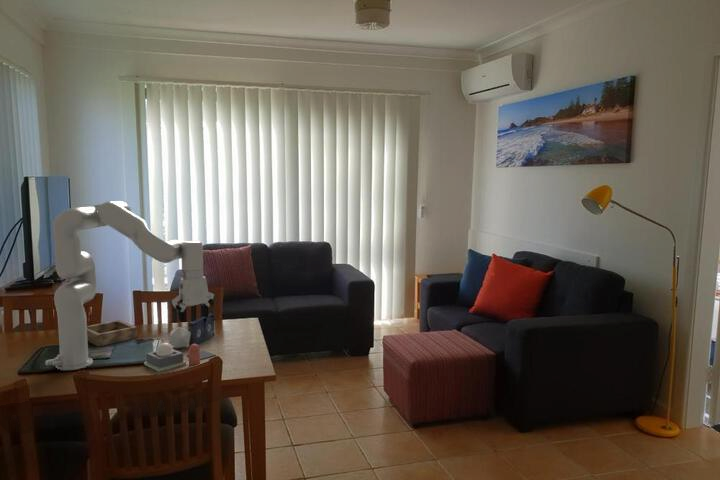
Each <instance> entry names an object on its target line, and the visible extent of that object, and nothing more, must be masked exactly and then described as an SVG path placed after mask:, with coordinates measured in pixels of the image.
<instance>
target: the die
mask: <svg viewBox="0 0 720 480" xmlns="http://www.w3.org/2000/svg"><path fill="white" fill-rule="evenodd" d="M190 335H191V332H189V329H188V330H187V329H186V328H184V327H181V326H178V327H176V328H174V329H172V330H170V334H169V337H168V339H169V340H168V341H169V342H168V343H169V344H170V345H171V346H172V347H174V348H176V349H183V348H185V347H187V346H189V341H190Z"/></svg>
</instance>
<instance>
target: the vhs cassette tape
mask: <svg viewBox="0 0 720 480" xmlns="http://www.w3.org/2000/svg"><path fill="white" fill-rule="evenodd" d="M187 327H188V331H189V332H191V335H190V341H189V345H188V346H189V347H190V346H191V345H192V344H197V345H198V346H199V345H200V344H202V343H203V342H205V341H207V340H209V339H211V338H212V337H214V336H215V335H216V334H215V332H216V331H215V330H216V329H215V313H211V312H209V314H208V317H203V316H201V317H200V318H198V319H195V320H194V321H191V322H189V323H188V326H187Z"/></svg>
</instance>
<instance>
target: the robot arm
mask: <svg viewBox="0 0 720 480" xmlns="http://www.w3.org/2000/svg"><path fill="white" fill-rule="evenodd" d="M106 226H108V227H110V228H111V229H113V230H115V231H116V232H118V233H120V234H121V235H122V236H125V237H126V238H128V239H129V240H131V241H132V243H133V244H134V245H135V246H137V248H138V249H139V250H140V251H142V252H143V253H145V254H146V255H147V256H149V257H151V258H152V259H154V260H155V261H158V262H160V263H164V264H167V263H171V262H173V261H177V260H180V259H181V272H179V275H178V276H179V277H181V278H180V281H179V290H178V295H177V296H176V297H174V298H173V299H172V300H171V303H172V306H173V308H174V309H175V310H176V311H177V312H178V320H179V322H180V323H186V322H187V321H186V312H185V310H186V308H187V307H193V306H197V305H202V306H201V315H202V316H201V317H208V314H209V313H210V311H209V310H210V309H209V307H210V306H211V304H212V302H213V300H214V297H215V294H214V293H213V292H210V291H209V289H208V288H209V287H208V283H207V281H208V280H207V278H206V276H204V253H203V251H204V250H203V247H204V246H203V243H202V242H201V241H200V240H179V239H170V240H167V241H165V240H164V239H162V238H160V237H158V236H157V235H155V234H154V233H153V232H152V231H150V229H149V228H148V227H149V226H148V224H147V221H146V220H145V219H143V218H141V217H140V216H138V215H137V214H135V213H133V212H132V209H131V207H130V206H129V205H128V204H127V203H126V202H124V201H121V200H109V201H106V202H103V203H101V204H95V205H87V206H77V207H71V208H68V209H65V210H63V211H61V212H60V213H59V214H58V215H57V216H56V217H55V219H54V220H53V224H52V234H53V242H54V243H53V244H54V259H55V271H56V274H57V275H58V277H59V278H61V279H63V280H70V281H69V282H66V283H64V284H62V285H60V286H59V287H58V288H57V289H56V290H55V292H54V295H53V296H54V297H53V301H54V305H55V309H56V314H57V328H58V343H59V344H58V345H59V347H58V348H59V353H58V354H57V355H56V357H54V358H52V359H51V358H50V359H46V360H44V361H45V366H51V365H52V366H55V369H56V368H57V370H59V369H60V370H59V371H74V370H75V371H77V370H81V368H82V369H85V368H88V367H89V366H91V365H93V364H94V360H93V358H91V357H90V356H89V343H88V342H89V341H88V339H87V326H88V323H87V321H88V319H87V314H86V310H85V307H84V304H87V303H88V302H91V300H93V299H94V298H95V296H96V293H97V282H96V281H97V277H96V263H95V261H94V258H93V256H92V255H91V254H90V253H88V252H87V251H84V250H82V249H81V239H80V237H79V235H78V232H79V231H85V230H90V229H95V228H100V227H106ZM178 302H179V304H178ZM87 366H88V367H87Z"/></svg>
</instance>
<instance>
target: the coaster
mask: <svg viewBox="0 0 720 480" xmlns="http://www.w3.org/2000/svg"><path fill="white" fill-rule="evenodd" d="M186 357H188V358H189V354H187V355H186ZM213 357H216V354H215V353H212V352H209V351H206V350H200V361H201V360H205V359H210V358H213Z"/></svg>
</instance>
